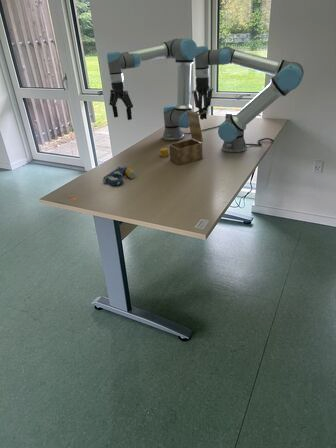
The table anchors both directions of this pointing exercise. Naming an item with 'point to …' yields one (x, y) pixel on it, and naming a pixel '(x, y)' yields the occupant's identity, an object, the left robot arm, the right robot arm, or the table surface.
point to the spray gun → (118, 175)
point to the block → (164, 152)
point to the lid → (195, 124)
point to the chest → (186, 151)
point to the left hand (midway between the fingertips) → (122, 118)
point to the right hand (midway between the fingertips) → (203, 118)
